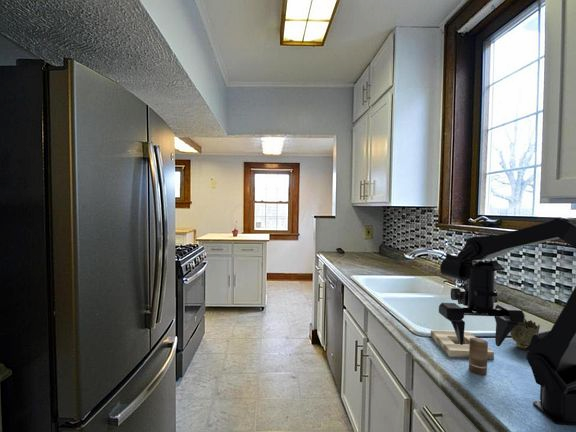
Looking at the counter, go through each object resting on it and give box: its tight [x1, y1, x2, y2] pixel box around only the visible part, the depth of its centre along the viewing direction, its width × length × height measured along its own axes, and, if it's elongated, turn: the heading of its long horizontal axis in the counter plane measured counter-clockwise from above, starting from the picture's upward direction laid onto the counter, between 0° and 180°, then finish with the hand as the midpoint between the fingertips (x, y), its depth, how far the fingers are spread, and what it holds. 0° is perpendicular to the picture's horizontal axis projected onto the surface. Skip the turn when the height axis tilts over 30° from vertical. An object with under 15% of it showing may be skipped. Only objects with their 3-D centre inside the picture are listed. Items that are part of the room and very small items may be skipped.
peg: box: [468, 337, 489, 376], centre depth 80 cm, size 4×4×8 cm
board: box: [430, 329, 495, 360], centre depth 94 cm, size 14×12×2 cm
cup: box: [509, 318, 541, 351], centre depth 94 cm, size 8×7×8 cm
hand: (479, 344), depth 80 cm, fingers open, 9 cm apart
